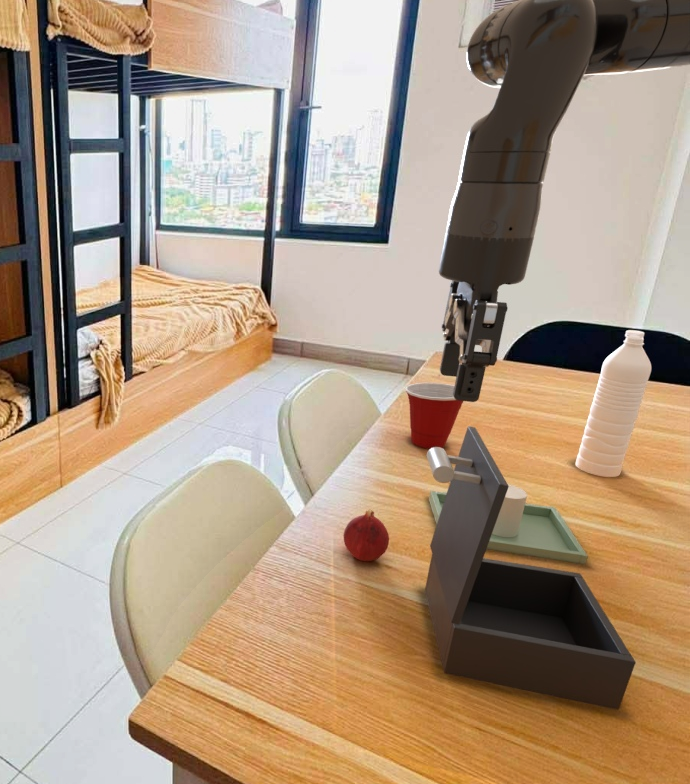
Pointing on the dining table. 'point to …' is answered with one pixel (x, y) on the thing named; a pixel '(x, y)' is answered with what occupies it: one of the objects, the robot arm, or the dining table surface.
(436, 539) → the lid
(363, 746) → the dining table surface
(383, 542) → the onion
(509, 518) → the white cylinder
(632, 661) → the dark gray hinged box
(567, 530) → the drip tray
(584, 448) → the water bottle
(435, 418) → the plastic cup
